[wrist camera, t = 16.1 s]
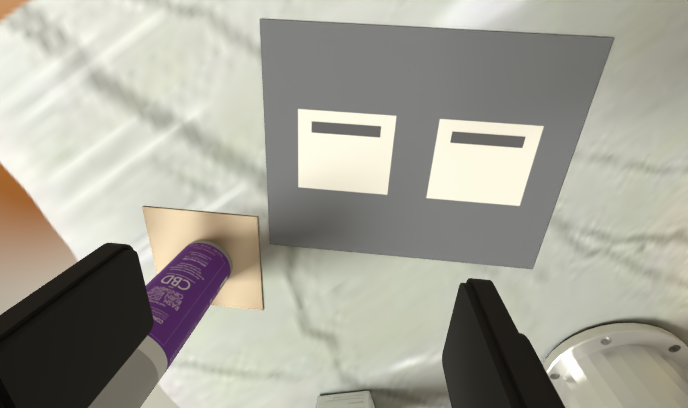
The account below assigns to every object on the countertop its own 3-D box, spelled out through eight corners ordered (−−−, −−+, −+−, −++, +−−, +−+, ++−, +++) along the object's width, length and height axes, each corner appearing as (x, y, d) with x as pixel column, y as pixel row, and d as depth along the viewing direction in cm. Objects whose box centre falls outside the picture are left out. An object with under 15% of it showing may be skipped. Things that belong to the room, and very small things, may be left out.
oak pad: (257, 216, 27) (256, 217, 27) (263, 309, 31) (262, 310, 31) (142, 206, 28) (141, 206, 28) (163, 298, 32) (162, 299, 32)
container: (224, 237, 28) (83, 405, 15) (238, 281, 30) (125, 467, 16) (175, 241, 29) (-5, 405, 15) (191, 284, 31) (44, 464, 17)
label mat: (613, 37, 20) (614, 37, 20) (531, 268, 27) (532, 269, 27) (260, 19, 21) (259, 18, 21) (270, 243, 28) (269, 244, 28)
